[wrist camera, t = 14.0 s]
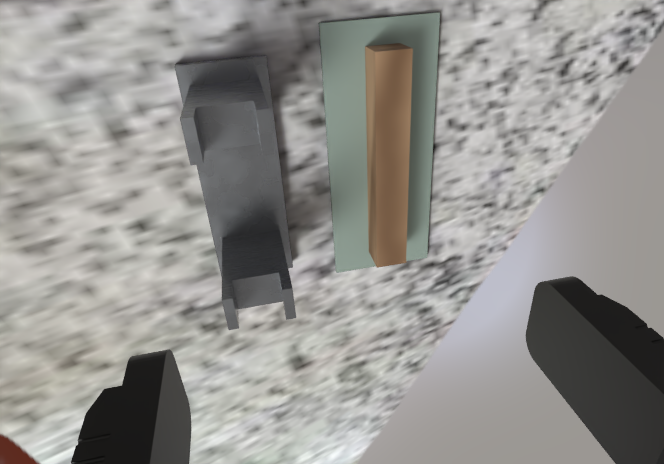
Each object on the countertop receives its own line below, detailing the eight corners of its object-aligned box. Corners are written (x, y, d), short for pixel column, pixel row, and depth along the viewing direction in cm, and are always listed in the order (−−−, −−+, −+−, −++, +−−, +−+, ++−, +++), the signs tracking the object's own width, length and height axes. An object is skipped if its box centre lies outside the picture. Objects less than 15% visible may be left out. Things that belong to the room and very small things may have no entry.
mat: (438, 12, 38) (440, 12, 38) (425, 255, 50) (427, 257, 50) (318, 22, 37) (319, 23, 36) (335, 270, 49) (336, 272, 48)
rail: (400, 42, 38) (412, 48, 36) (396, 247, 48) (406, 262, 46) (365, 46, 38) (375, 51, 35) (368, 251, 48) (376, 267, 45)
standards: (265, 55, 37) (278, 82, 28) (291, 261, 47) (307, 329, 38) (175, 64, 36) (160, 95, 27) (222, 273, 46) (222, 345, 37)
